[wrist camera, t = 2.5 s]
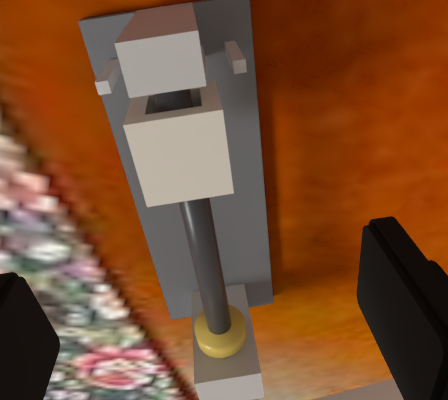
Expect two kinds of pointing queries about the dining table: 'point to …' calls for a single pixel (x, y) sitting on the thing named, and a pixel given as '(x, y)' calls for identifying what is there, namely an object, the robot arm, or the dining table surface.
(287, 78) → the dining table surface
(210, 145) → the sleeve
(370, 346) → the dining table surface
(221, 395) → the grey rod stand
